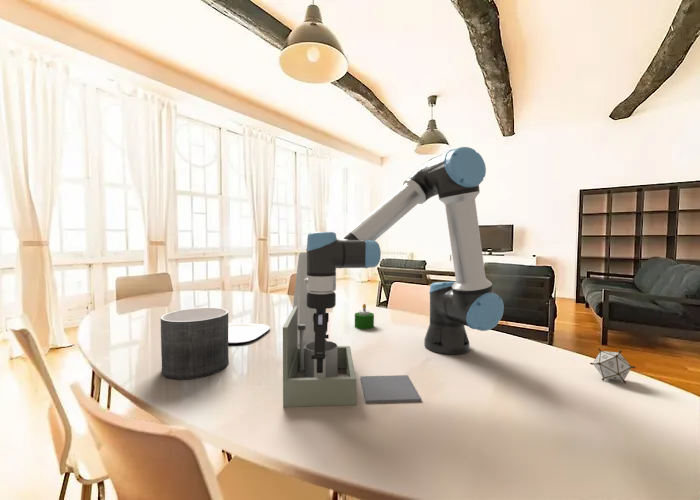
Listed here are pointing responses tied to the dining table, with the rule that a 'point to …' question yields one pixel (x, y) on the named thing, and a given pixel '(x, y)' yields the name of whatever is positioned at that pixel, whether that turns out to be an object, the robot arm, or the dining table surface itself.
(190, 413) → the dining table surface
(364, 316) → the candle
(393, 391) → the mat
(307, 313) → the vase
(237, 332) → the plate
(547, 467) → the dining table surface
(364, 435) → the dining table surface
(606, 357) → the game die
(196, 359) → the planter
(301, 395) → the case
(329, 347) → the cup
